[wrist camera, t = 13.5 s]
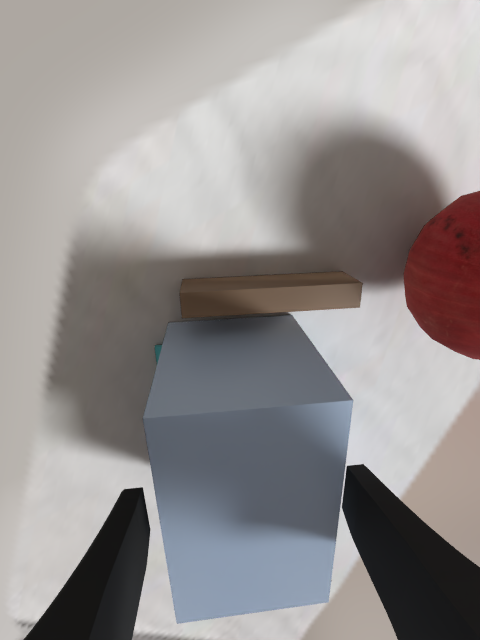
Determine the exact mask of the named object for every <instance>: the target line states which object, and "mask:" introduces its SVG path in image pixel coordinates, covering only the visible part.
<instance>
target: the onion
mask: <svg viewBox="0 0 480 640" xmlns="http://www.w3.org/2000/svg"><path fill="white" fill-rule="evenodd" d="M404 287H405V297H406V303H407V307H408V309H409V310H410V312H411V313H412V315H413V316H414V318H415V320H416V321H417V323H418V324H419V326H420V327H421V328H422V329H423V330H424V331H425V332H426V333H427V334H428V335H429V336H430V337H431V338H432V339H433V340H435V341H437V342H439V343H440V344H442V345H444V346H446V347H448V348H450V349H451V350H453V351H455V352H457V353H460V354H462V355H465V356H467V357H470V358H472V359H479V360H480V191H478V192H474V193H470V194H467V195H463V196H461V197H459V198H458V199H457V200H455V201H454V202H453V203H451V204H450V205H448V206H447V207H446V208H445V209H443V210H442V211H441V212H440V213H439V214H437V215H436V216H435V217H434V218H432V219H431V220H430V221H429V222H428V223H427V224H426V225H424V227H423V229H422V230H421V232H420V234H419V235H418V237H417V239H416V240H415V242H414V244H413V245H412V247H411V249H410V251H409V255H408V259H407V262H406V266H405V270H404Z"/></svg>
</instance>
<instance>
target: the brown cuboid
mask: <svg viewBox="0 0 480 640" xmlns="http://www.w3.org/2000/svg"><path fill="white" fill-rule="evenodd" d="M362 284H363V283H362V282H360V281H358V280H357V279H355V278H353V277H351V276H350V275H348V274H346V273H344V272H343V271H338V272H318V273H298V274H278V275H259V276H239V277H219V278H199V279H183V280H182V284H181V289H180V303H181V313H182V318H194V317H211V316H227V315H244V314H260V313H276V312H293V311H309V310H326V309H342V308H359V307H360V302H361V293H362Z"/></svg>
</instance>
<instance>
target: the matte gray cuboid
mask: <svg viewBox="0 0 480 640" xmlns="http://www.w3.org/2000/svg"><path fill="white" fill-rule="evenodd" d="M352 406H353V399H352V398H351V397H350V395H349V394H348V392H347V391H346V390H345V388H344V387H343V385H342V384H341V383H340V381H339V380H338V378H337V377H336V376H335V374H334V373H333V371H332V370H331V369H330V367H329V366H328V364H327V363H326V362H325V360H324V359H323V358H322V356H321V355H320V353H319V352H318V351H317V349H316V348H315V346H314V345H313V344H312V342H311V341H310V339H309V338H308V337H307V335H306V334H305V332H304V331H303V330H302V328H301V327H300V325H299V324H298V323H297V321H296V320H295V319H294V317H293V316H292V315H285V316H268V317H252V318H236V319H220V320H204V321H188V322H171V323H168V326H167V330H166V333H165V337H164V341H163V345H162V348H161V352H160V356H159V360H158V363H157V367H156V371H155V375H154V378H153V382H152V386H151V390H150V393H149V397H148V401H147V405H146V408H145V412H144V416H143V423H144V429H145V435H146V441H147V447H148V453H149V459H150V465H151V471H152V477H153V483H154V489H155V495H156V501H157V507H158V513H159V519H160V525H161V531H162V537H163V543H164V549H165V555H166V561H167V567H168V573H169V579H170V585H171V592H172V598H173V604H174V610H175V616H176V622H177V624H178V623H185V622H192V621H199V620H206V619H213V618H221V617H228V616H235V615H242V614H249V613H256V612H263V611H270V610H277V609H284V608H291V607H298V606H305V605H312V604H319V603H326V602H329V593H330V585H331V577H332V569H333V561H334V553H335V545H336V536H337V528H338V520H339V512H340V504H341V496H342V488H343V479H344V471H345V463H346V455H347V447H348V439H349V431H350V422H351V414H352Z"/></svg>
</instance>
